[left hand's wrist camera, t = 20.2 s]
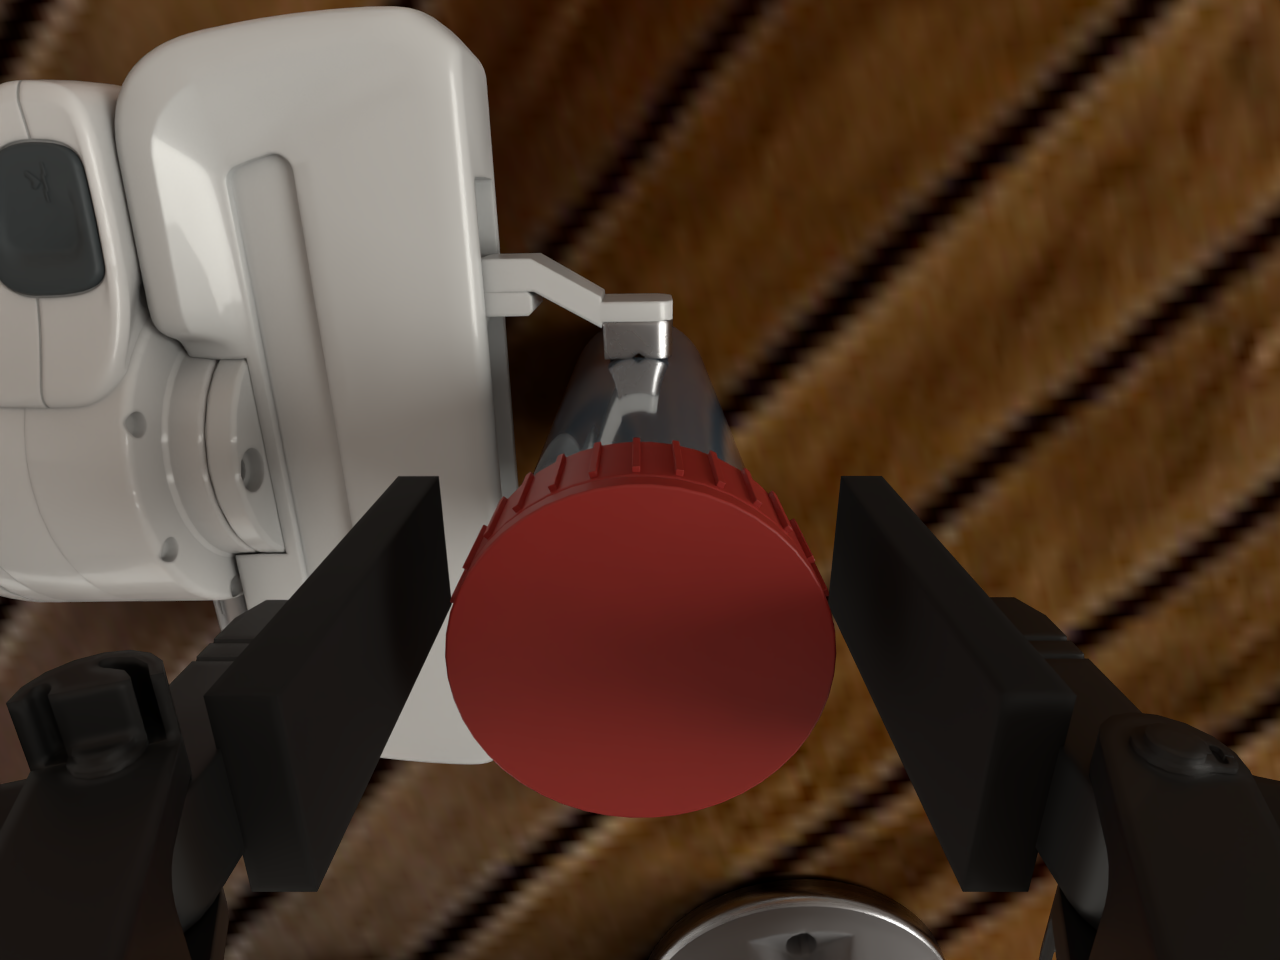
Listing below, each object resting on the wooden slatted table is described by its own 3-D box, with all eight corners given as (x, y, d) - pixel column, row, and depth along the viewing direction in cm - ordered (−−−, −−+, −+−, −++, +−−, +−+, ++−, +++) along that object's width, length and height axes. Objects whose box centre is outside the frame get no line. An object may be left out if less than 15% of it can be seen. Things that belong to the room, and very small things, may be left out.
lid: (410, 502, 11) (368, 556, 10) (758, 385, 11) (781, 420, 9) (544, 774, 13) (529, 860, 12) (849, 687, 13) (882, 766, 11)
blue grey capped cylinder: (724, 420, 27) (838, 711, 11) (604, 465, 27) (558, 799, 12) (679, 296, 25) (740, 441, 10) (552, 347, 26) (425, 556, 11)
